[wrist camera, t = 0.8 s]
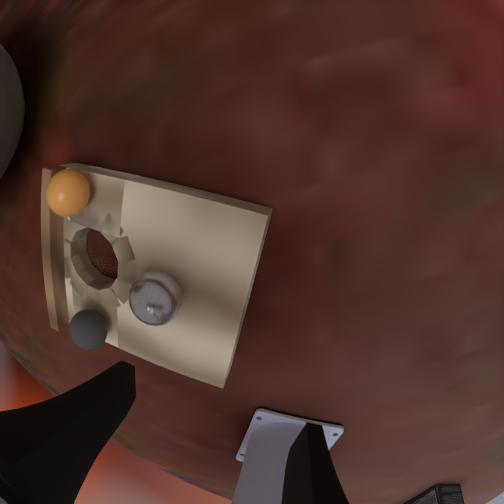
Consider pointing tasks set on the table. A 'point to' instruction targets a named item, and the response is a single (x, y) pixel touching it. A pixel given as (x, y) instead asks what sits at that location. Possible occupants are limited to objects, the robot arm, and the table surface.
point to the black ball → (88, 329)
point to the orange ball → (68, 192)
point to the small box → (440, 495)
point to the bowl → (9, 109)
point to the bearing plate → (157, 266)
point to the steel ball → (155, 298)
